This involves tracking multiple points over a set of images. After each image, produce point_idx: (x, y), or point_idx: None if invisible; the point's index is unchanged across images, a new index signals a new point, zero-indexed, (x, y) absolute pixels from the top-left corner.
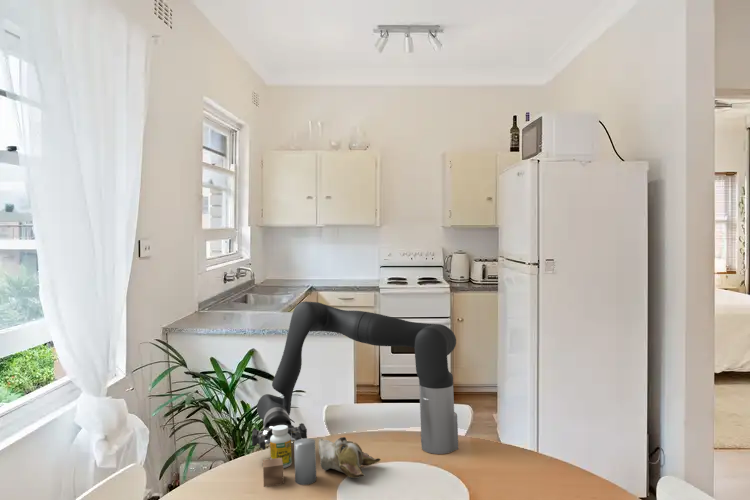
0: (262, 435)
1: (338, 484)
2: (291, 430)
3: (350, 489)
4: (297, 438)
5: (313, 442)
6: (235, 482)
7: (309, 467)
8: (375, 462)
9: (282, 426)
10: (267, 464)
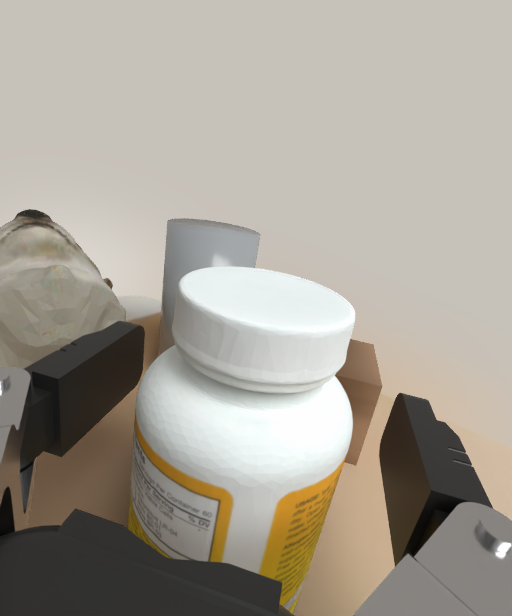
0: (473, 521)
1: (137, 319)
2: (17, 439)
3: (136, 301)
4: (136, 329)
5: (188, 219)
6: (501, 507)
7: None
8: None
9: (233, 291)
10: (356, 350)
